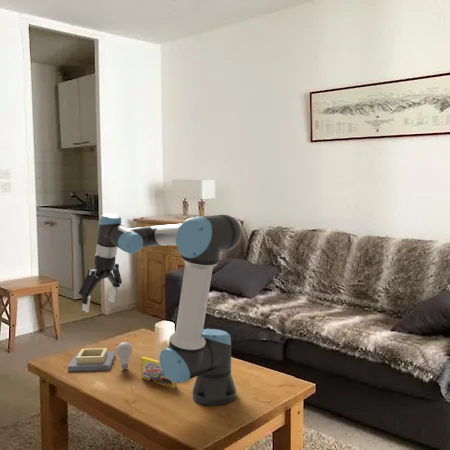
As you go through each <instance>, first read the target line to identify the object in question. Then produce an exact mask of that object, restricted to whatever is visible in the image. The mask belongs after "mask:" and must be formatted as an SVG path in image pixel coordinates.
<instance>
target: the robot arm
mask: <svg viewBox="0 0 450 450" xmlns="http://www.w3.org/2000/svg"><path fill="white" fill-rule="evenodd" d="M242 233H243V231H242V227H241V225H240V223H239V221H238V220H237V219H236V218H235V217H233V216H231V215H228V214H217V215H216V214H215V215H207V216H206V215H205V216H201V215H199V216H194V217H191V218H188V219H185V220H184V221H182V223H176V224H175V223H174V224H156V225H148V226H139V227H131V228H128V227H126V226H124V225H123V224H122V217H121V215H118V214H117V213H110V212H107V213H103V214H101V216H100V218H99V223H98V231H97V238H96V239H97V241H96V246H95V247H96V249H95V255H94V260H93V263H94V265H95V267H94V268H93V269H91V268H89V269H88V270H87V274H86V277H85V278H84V281H83V282H82V285H81V287H80V288H79V291H78V295H80V296H82V301H81V303H82V308H81V310H82V311H84V312H85V313H89V312H90V303H91V299H92V297H91V293H92V292H93V291H94V289H95V287H97V284H99V282H101V280H104V279H108V280H109V282H110V283H111V284H110V285H109V290H108V296H107V297H108V298H107V301H108V302H110V303H112V304H113V303H115V300H116V299H115V298H116V294H117V291H118V288H120V286H121V285H122V283H123V281H122V277H121V273H120V269H119V268H120V265H119V263H117V262H116V258H117V252H118V249H120V250H121V251H123V252H125V253H127V254H130V255H131V254H132V255H133V254H137V252H139V251H140V250H142V249H143V248H150V247H161V246H162V247H163V246H177V251H178V253H180V255H181V256H180V258H181V260H182V261H183V263H184V271H183V276H182V278H183V279H182V285H181V291H180V299H179V304H178V311H177V312H178V313H177V320H176V326H175V332H174V333H172V334H171V335H170V336H169V342H168V347H165V348H163V350H161V351H160V353H159V359H158V361H160V366H161V369H162V370H163V373H164V374H165V376H166V377H167V378H168V379H169V380H170V381H172V382H174V383H176V384H180V383H183V382H188V381H190V380H191V379H194V378H195V382H194V385H193V388H192V400H194V401H195V402H196V403H198V404H200V405H205V406H212V407H213V406H223V405H227V404H230V403H232V402H234V401H235V400H236V398H237V388H236V385H235V382H234V379H233V375H232V339H231V338H232V337H231V334H230V333H228V332H227V331H225V330H222V329H216V328H205V327H204V325H205V319H206V313H207V308H208V300H209V293H210V287H211V281H212V274H213V270H214V269H213V268H214V267H216V266H217V265H218V264H219V262H220V258H221V257H220V256H221V253H222V252H223V253H224V252H228V251H231V250H233V249H234V248H235V247H237V245H239V243H240V241H241V239H242Z"/></svg>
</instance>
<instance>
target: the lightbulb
mask: <svg viewBox="0 0 450 450" xmlns="http://www.w3.org/2000/svg"><path fill="white" fill-rule="evenodd" d="M132 352H133V347H132V345H131V344H130V343H129V342H127V341H122V342H120V343H119V344H118V345H117V347H116V350H115V353H116V354H117V356H118V358H119V361H120V364H121V366H120V367H121V369H122V370H124V371H125V370H126V371H127V369H128V368H129V361H130V357H131V354H132Z"/></svg>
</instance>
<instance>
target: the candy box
mask: <svg viewBox="0 0 450 450" xmlns="http://www.w3.org/2000/svg"><path fill="white" fill-rule="evenodd" d="M140 370H141V379H142V380H143V379H144V380H147V381H149V380H151V379H152V380H153V381H154V383H155V382H157V383H156V384H159V383H160V384H159V385H162V384H163V386H165V385H166V386H165V387H168V386H169V388H171V389H175V388H177V387H178V386H177V383H174V382H172V381H170V380H169V379H168V378H167V377H166V376H165V374H164V373H163V370H162V369H161V366H160V360H159V359H158V360H157V359H155V358H151V357H147V356H142V357H140Z"/></svg>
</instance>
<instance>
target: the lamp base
mask: <svg viewBox="0 0 450 450" xmlns="http://www.w3.org/2000/svg"><path fill="white" fill-rule="evenodd" d="M115 357H116V350H112V351H108V348H107V347H99V348H98V347H96V348H93V347H92V348H81V349H80V351H79V352H76V353H75V354H74V356H73V357H72V359H71V361H70V363H69V364H68V366H67V372H68V371H69V372H88V371H89V372H91V371H92V372H93V371H94V372H95V371H96V372H97V371H110V369H111V367H112V364H113V362H114V360H115Z"/></svg>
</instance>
